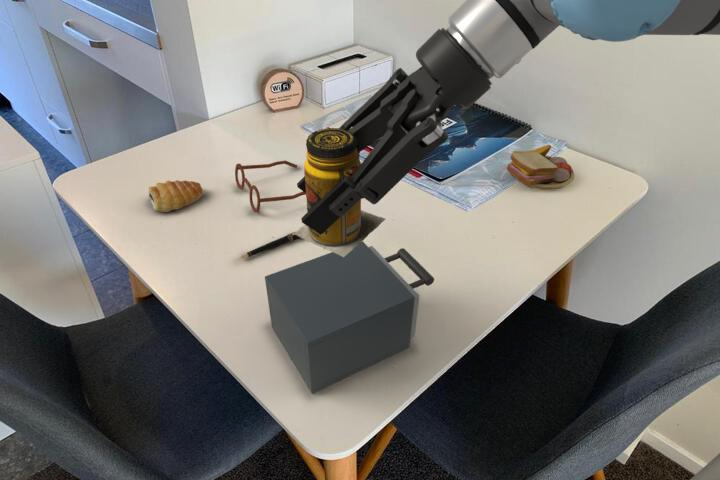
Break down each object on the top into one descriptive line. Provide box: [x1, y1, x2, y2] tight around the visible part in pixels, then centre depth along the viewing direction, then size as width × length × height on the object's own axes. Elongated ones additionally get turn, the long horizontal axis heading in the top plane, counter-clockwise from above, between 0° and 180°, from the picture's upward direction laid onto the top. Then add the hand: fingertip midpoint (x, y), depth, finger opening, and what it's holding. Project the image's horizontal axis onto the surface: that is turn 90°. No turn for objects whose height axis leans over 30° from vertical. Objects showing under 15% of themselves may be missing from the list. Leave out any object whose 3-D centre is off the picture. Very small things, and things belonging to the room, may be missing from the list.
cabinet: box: [264, 240, 415, 395], centre depth 68 cm, size 15×13×10 cm
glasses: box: [234, 160, 306, 213], centre depth 98 cm, size 13×13×5 cm
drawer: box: [368, 245, 435, 340], centre depth 70 cm, size 18×11×8 cm, turn 120°
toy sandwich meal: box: [506, 144, 575, 191], centre depth 103 cm, size 12×14×5 cm
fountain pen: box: [239, 231, 301, 259], centre depth 86 cm, size 14×1×2 cm, turn 125°
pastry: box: [147, 179, 204, 213], centre depth 95 cm, size 9×7×4 cm
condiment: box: [292, 127, 386, 257], centre depth 57 cm, size 7×8×12 cm
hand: (308, 208), depth 58 cm, fingers closed on condiment, 6 cm apart
